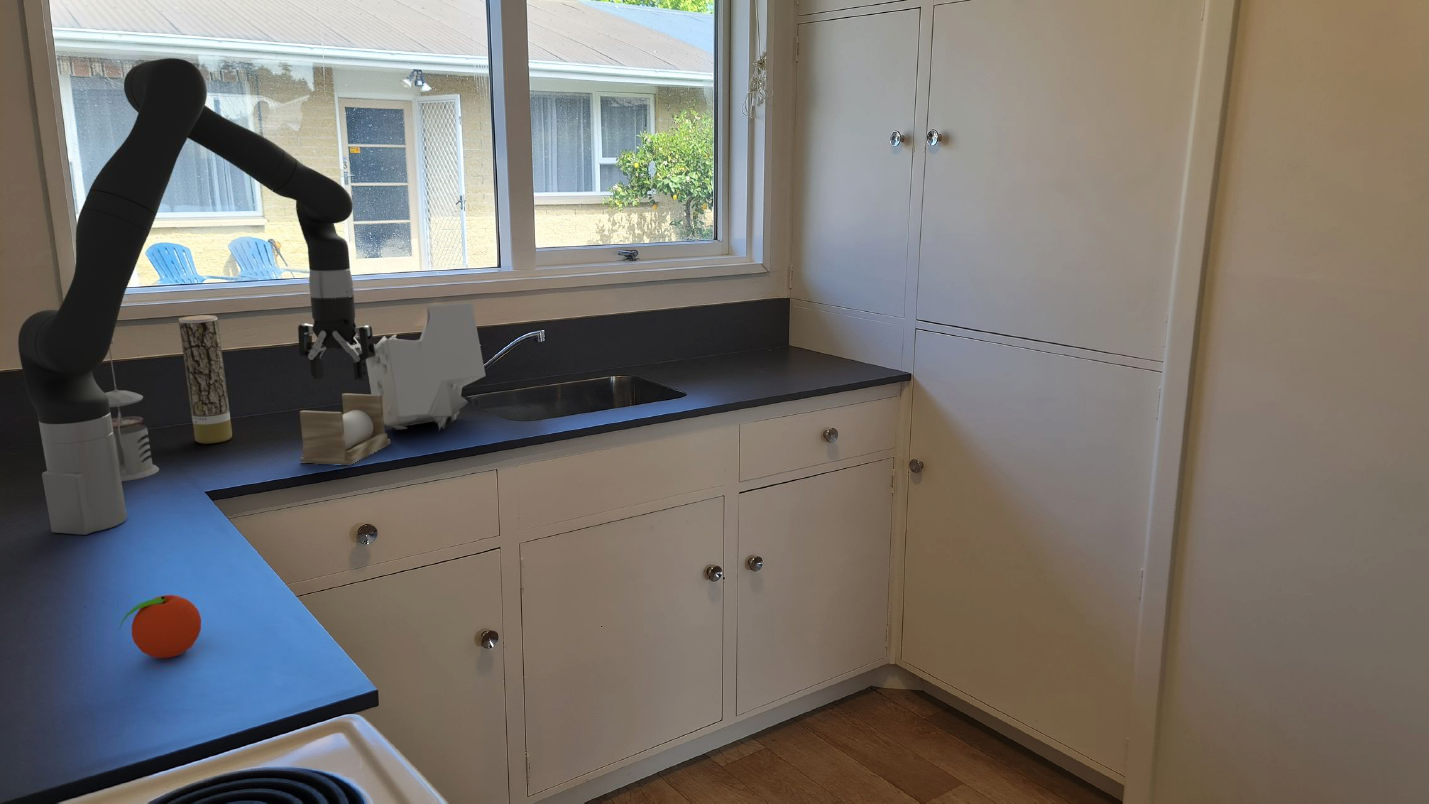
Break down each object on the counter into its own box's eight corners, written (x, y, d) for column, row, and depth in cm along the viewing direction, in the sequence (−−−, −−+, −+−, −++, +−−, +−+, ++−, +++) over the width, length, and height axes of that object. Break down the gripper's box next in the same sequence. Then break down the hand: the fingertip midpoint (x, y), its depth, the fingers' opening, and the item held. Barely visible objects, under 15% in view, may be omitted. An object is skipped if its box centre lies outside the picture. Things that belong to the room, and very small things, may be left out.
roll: (345, 456, 183) (340, 423, 182) (315, 456, 185) (310, 423, 183) (376, 440, 194) (371, 409, 192) (347, 441, 195) (342, 409, 194)
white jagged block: (396, 434, 192) (373, 309, 194) (374, 444, 205) (353, 327, 207) (494, 419, 204) (472, 302, 205) (467, 429, 217) (446, 319, 218)
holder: (349, 466, 181) (344, 413, 179) (300, 463, 183) (294, 411, 181) (390, 443, 196) (386, 395, 193) (344, 441, 198) (340, 393, 195)
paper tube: (217, 445, 195) (201, 321, 190) (187, 443, 197) (170, 320, 191) (240, 436, 202) (224, 315, 196) (211, 434, 203) (195, 314, 197)
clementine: (128, 678, 106) (119, 618, 105) (121, 654, 112) (112, 596, 110) (210, 657, 111) (202, 599, 109) (199, 634, 117) (191, 578, 115)
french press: (163, 462, 184) (144, 330, 179) (153, 480, 174) (132, 341, 168) (102, 468, 181) (81, 334, 175) (89, 487, 170) (65, 345, 165)
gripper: (285, 295, 180) (293, 382, 184) (356, 297, 177) (363, 385, 181) (309, 290, 187) (316, 374, 191) (377, 292, 185) (384, 377, 188)
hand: (339, 379), depth 186 cm, fingers open, 8 cm apart
